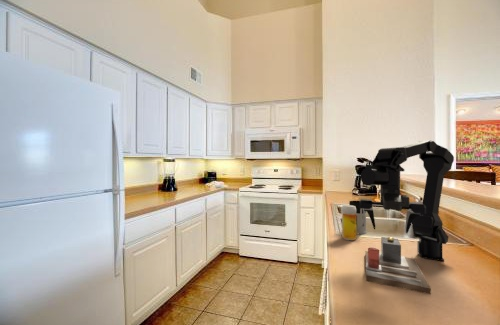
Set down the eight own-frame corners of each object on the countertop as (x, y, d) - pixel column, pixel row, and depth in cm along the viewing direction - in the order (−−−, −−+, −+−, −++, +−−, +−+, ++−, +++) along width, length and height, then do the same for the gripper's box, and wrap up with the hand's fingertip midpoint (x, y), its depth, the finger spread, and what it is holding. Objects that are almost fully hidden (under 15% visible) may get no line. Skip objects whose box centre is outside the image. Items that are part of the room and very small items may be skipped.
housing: (397, 256, 78) (397, 236, 78) (401, 264, 72) (400, 242, 72) (381, 253, 81) (381, 234, 81) (382, 261, 74) (382, 239, 74)
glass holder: (363, 229, 118) (363, 200, 119) (374, 238, 104) (374, 205, 105) (345, 228, 120) (345, 200, 120) (354, 237, 106) (354, 205, 106)
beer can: (358, 241, 100) (357, 207, 100) (343, 240, 101) (343, 206, 101) (354, 237, 106) (354, 205, 106) (340, 236, 107) (340, 204, 107)
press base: (414, 263, 78) (414, 255, 78) (430, 294, 59) (430, 283, 59) (365, 255, 85) (365, 247, 85) (366, 280, 66) (366, 271, 66)
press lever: (380, 270, 69) (380, 248, 69) (381, 275, 66) (381, 252, 66) (366, 267, 71) (365, 246, 71) (366, 272, 67) (366, 250, 67)
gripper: (359, 185, 73) (359, 233, 73) (431, 188, 65) (431, 242, 65) (359, 183, 83) (359, 225, 83) (422, 185, 75) (422, 232, 75)
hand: (390, 231), depth 76 cm, fingers open, 9 cm apart
